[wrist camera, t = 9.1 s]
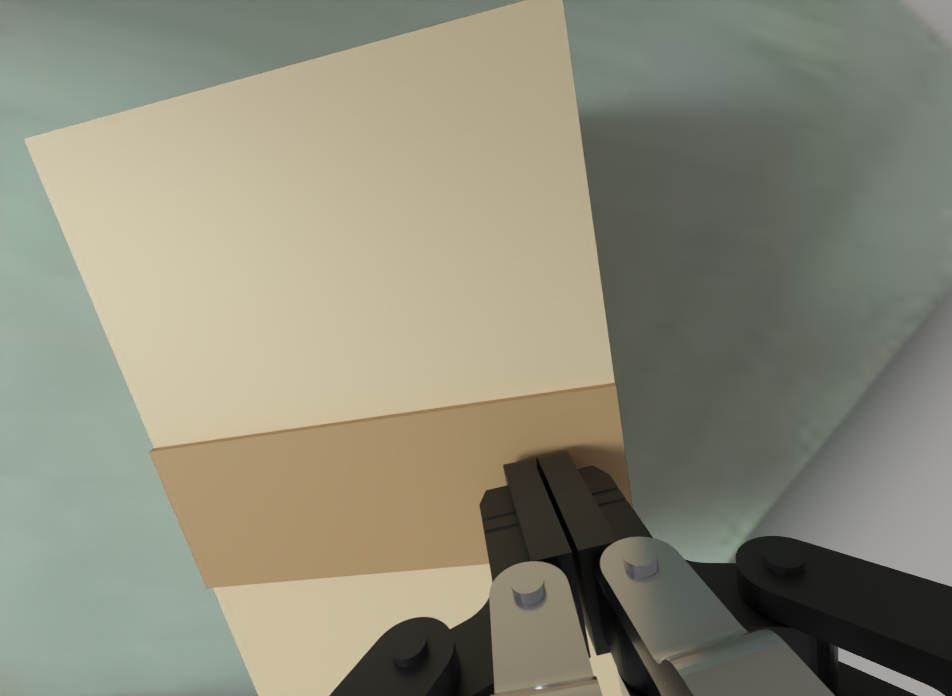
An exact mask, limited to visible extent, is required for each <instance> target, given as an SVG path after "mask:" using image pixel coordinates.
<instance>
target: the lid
mask: <svg viewBox="0 0 952 696" xmlns="http://www.w3.org/2000/svg"><path fill="white" fill-rule="evenodd" d="M24 141H25V143H26V145H27V148H28V150H29V153H30V155H31V157H32V160H33V162H34V164H35V167H36V169H37V172H38V174H39V176H40V179H41V181H42V183H43V186H44V188H45V191H46V193H47V195H48V198H49V200H50V202H51V205H52V207H53V210H54V212H55V214H56V217H57V219H58V221H59V224H60V226H61V229H62V231H63V233H64V236H65V238H66V240H67V243H68V245H69V248H70V250H71V252H72V255H73V257H74V259H75V262H76V264H77V267H78V269H79V271H80V274H81V276H82V278H83V281H84V283H85V285H86V288H87V290H88V293H89V295H90V297H91V300H92V302H93V304H94V307H95V309H96V312H97V314H98V316H99V319H100V321H101V323H102V326H103V328H104V331H105V333H106V335H107V338H108V340H109V342H110V345H111V347H112V350H113V352H114V354H115V357H116V359H117V361H118V364H119V366H120V369H121V371H122V373H123V376H124V378H125V380H126V383H127V385H128V388H129V390H130V392H131V395H132V397H133V399H134V402H135V404H136V407H137V409H138V411H139V414H140V416H141V418H142V421H143V423H144V426H145V428H146V430H147V433H148V435H149V437H150V440H151V442H152V445H153V447H154V449H152V450H151V451H149V454H150V456H151V459H152V461H153V463H154V466H155V468H156V470H157V473H158V475H159V478H160V480H161V482H162V485H163V487H164V489H165V492H166V494H167V496H168V499H169V501H170V503H171V506H172V508H173V510H174V513H175V515H176V517H177V520H178V522H179V525H180V527H181V529H182V532H183V534H184V536H185V539H186V541H187V543H188V546H189V548H190V550H191V553H192V555H193V557H194V560H195V562H196V564H197V567H198V569H199V572H200V574H201V576H202V579H203V581H204V583H205V586H206V588H213V589H214V592H215V594H216V596H217V599H218V601H219V604H220V606H221V608H222V611H223V613H224V615H225V618H226V620H227V623H228V625H229V627H230V630H231V632H232V634H233V637H234V639H235V642H236V644H237V646H238V649H239V651H240V653H241V656H242V658H243V660H244V663H245V665H246V668H247V670H248V672H249V675H250V677H251V679H252V682H253V684H254V687H255V689H256V691H257V694H258V696H329V695H330V694H331V693H332V692H333V691H334V689H335V688H336V687H337V686H338V685H339V684H340V683H341V681H342V680H343V679H344V678H345V677H346V676H347V675H348V673H349V672H350V671H351V670H352V669H353V668H354V667H355V665H356V664H357V663H358V662H359V661H360V660H361V659H362V657H363V656H364V655H365V654H366V653H367V652H368V651H369V649H370V648H371V647H372V646H373V645H374V644H375V642H376V641H377V640H378V639H379V638H380V637H381V636H382V635H383V634H384V633H385V632H386V631H388V630H389V629H390V628H392V627H393V626H395V625H396V624H398V623H400V622H403V621H405V620H408V619H411V618H416V617H431V618H435V619H438V620H440V621H442V622H443V623H445V624H446V625H447V626H448V627H449V629H451V628H453V627H455V626H457V625H459V624H460V623H462V622H464V621H466V620H468V619H469V618H471V617H472V616H473V615H475V614H476V613H477V612H478V611H479V610H480V609H481V608H482V607H483V606H484V605H485V603H486V602H487V600H488V598H489V591H490V588H491V585H492V576H491V571H490V565H489V559H488V553H487V547H486V541H485V535H484V529H483V524H482V518H481V512H480V506H479V504H480V502H481V500H482V498H483V496H484V493H485V491H486V490H489V489H494V488H498V487H502V486H507V484H506V479H505V474H504V469H503V464H508V463H512V462H517V461H521V460H525V459H530V458H533V460H534V463H535V465H536V467H537V463H536V457H538V456H542V455H547V454H551V453H555V452H560V451H564V450H566V451H567V452H568V454H569V456H570V457H571V459H572V461H573V463H574V464H575V466H576V468H577V469H580V468H584V467H589V466H595V467H597V468H599V469H601V470H602V471H604V472H606V473H608V474H609V475H610V476H611V477H612V479H613V480H614V482H615V483H616V485H617V486H618V489H619V490H620V491H621V492H622V493H623V495H624V496H625V498H626V501H628V502H629V504H630V505H631V507H632V500H631V492H630V485H629V478H628V470H627V463H626V456H625V448H624V441H623V434H622V426H621V419H620V411H619V404H618V397H617V389H616V385H615V381H614V373H613V366H612V358H611V351H610V344H609V336H608V329H607V322H606V314H605V307H604V300H603V292H602V285H601V278H600V270H599V263H598V256H597V248H596V241H595V234H594V226H593V219H592V212H591V204H590V197H589V190H588V182H587V175H586V168H585V160H584V153H583V146H582V138H581V131H580V123H579V116H578V109H577V101H576V94H575V87H574V79H573V72H572V65H571V57H570V50H569V43H568V35H567V28H566V21H565V13H564V6H563V0H525V1H521V2H518V3H514V4H510V5H507V6H503V7H499V8H496V9H492V10H489V11H485V12H481V13H478V14H474V15H470V16H467V17H463V18H460V19H456V20H452V21H449V22H445V23H442V24H438V25H434V26H431V27H427V28H423V29H420V30H416V31H413V32H409V33H405V34H402V35H398V36H395V37H391V38H387V39H384V40H380V41H376V42H373V43H369V44H366V45H362V46H358V47H355V48H351V49H347V50H344V51H340V52H337V53H333V54H329V55H326V56H322V57H319V58H315V59H311V60H308V61H304V62H300V63H297V64H293V65H290V66H286V67H282V68H279V69H275V70H271V71H268V72H264V73H261V74H257V75H253V76H250V77H246V78H243V79H239V80H235V81H232V82H228V83H224V84H221V85H217V86H214V87H210V88H206V89H203V90H199V91H196V92H192V93H188V94H185V95H181V96H177V97H174V98H170V99H167V100H163V101H159V102H156V103H152V104H148V105H145V106H141V107H138V108H134V109H130V110H127V111H123V112H120V113H116V114H112V115H109V116H105V117H101V118H98V119H94V120H91V121H87V122H83V123H80V124H76V125H72V126H69V127H65V128H62V129H58V130H54V131H51V132H47V133H44V134H40V135H36V136H33V137H29V138H25V139H24ZM537 470H538V469H537ZM632 508H633V507H632ZM585 628H586V626H585ZM586 633H587V639H588V644H589V650H590V655H591V658H589V660H590V664H591V667H592V671H593V674H594V676H596V677H597V679H598V682H599V685H600V689H601V692H602V696H623V695H622V693H621V689H620V684H619V678H618V672H617V667H616V664H615V662H614V659H613V657H612V654H611V653H607V654H602V655H598V656H597V655H596V653H595V650H594V647H593V645H592V642H591V639H590V637H589V634H588V631H587V629H586Z"/></svg>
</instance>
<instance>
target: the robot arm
mask: <svg viewBox="0 0 952 696" xmlns="http://www.w3.org/2000/svg"><path fill="white" fill-rule="evenodd" d="M536 463H537V467H536V465H535V463H534V460H533V458H530V459H525V460H521V461H517V462H512V463H508V464H503V469H504V474H505V479H506V484H507V486H502V487H498V488H494V489H489V490H486V491H485V493H484V496H483V498H482V500H481V502H480V504H479V506H480V512H481V518H482V524H483V529H484V535H485V541H486V547H487V553H488V559H489V565H490V571H491V576H492V585H491V588H490V591H489V598H488V600H487V602H486V603H485V605H484V606H483V607H482V608H481V609H480V610H479V611H478V612H477V613H476V614H475V615H473V616H472V617H471V618H469V619H468V620H466V621H464V622H462V623H460V624H459V625H457V626H455V627H453V628H451V629H449V627H448V626H447V625H446V624H445V623H443V622H442V621H440V620H438V619H435V618H431V617H416V618H411V619H408V620H405V621H403V622H400V623H398V624H396V625H395V626H393V627H392V628H390V629H389V630H388V631H386V632H385V633H384V634H383V635H382V636H381V637H380V638H379V639H378V640H377V641H376V642H375V644H374V645H373V646H372V647H371V648H370V649H369V651H368V652H367V653H366V654H365V655H364V656H363V657H362V659H361V660H360V661H359V662H358V663H357V664H356V665H355V667H354V668H353V669H352V670H351V671H350V672H349V673H348V675H347V676H346V677H345V678H344V679H343V680H342V681H341V683H340V684H339V685H338V686H337V687H336V688H335V689H334V691H333V692H332V693H331V694H330V695H329V696H602V692H601V689H600V685H599V682H598V679H597V677H596V676H594V674H593V671H592V667H591V664H590V660H589V658H591V655H590V650H589V644H588V639H587V633H586V629H587V631H588V634H589V637H590V639H591V642H592V645H593V647H594V650H595V653H596V655H597V656H598V655H602V654H607V653H611V654H612V657H613V659H614V662H615V664H616V667H617V672H618V678H619V684H620V689H621V693H622V695H623V696H917V695H915V694H913V693H910V692H908V691H906V690H904V689H901V688H899V687H897V686H894V685H892V684H890V683H888V682H885V681H883V680H881V679H878V678H876V677H874V676H871V675H869V674H867V673H865V672H862V671H860V670H858V669H856V668H853V667H851V666H849V665H846V664H844V663H842V662H839V661H838V647H839V648H842V649H844V650H847V651H849V652H851V653H853V654H856V655H858V656H861V657H863V658H865V659H868V660H870V661H872V662H875V663H877V664H880V665H882V666H884V667H887V668H889V669H891V670H894V671H896V672H899V673H901V674H903V675H906V676H908V677H911V678H913V679H915V680H918V681H920V682H922V683H925V684H927V685H929V686H931V687H933V688H935V689H937V690H938V691H940V692H941V693H943V694H944V695H945V696H952V587H950V586H947V585H944V584H940V583H937V582H934V581H931V580H928V579H924V578H921V577H918V576H915V575H911V574H908V573H905V572H901V571H898V570H895V569H892V568H888V567H885V566H882V565H878V564H875V563H872V562H869V561H865V560H862V559H859V558H856V557H852V556H849V555H846V554H842V553H839V552H836V551H833V550H829V549H826V548H823V547H820V546H816V545H813V544H810V543H807V542H803V541H800V540H796V539H793V538H788V537H781V536H764V537H758V538H754V539H751V540H749V541H747V542H745V543H744V544H743V545H741V547H740V548H739V549H738V551H737V553H736V563H699V562H692V561H688V560H685V559H684V558H683V557H682V556H681V555H680V554H679V552H678V551H677V550H676V549H675V548H673V547H672V546H671V545H669V544H667V543H665V542H663V541H661V540H658V539H654V538H653V537H652V536H651V534H650V533H649V531H648V530H647V528H646V527H645V526H644V524H643V523H642V521H641V520H640V518H639V517H638V515H637V514H636V512H635V511H634V510H633V508H632V507H631V505H630V504H629V502H628V501H626V498H625V496H624V495H623V493H622V492H621V491H620V490H619V489H618V486H617V485H616V483H615V482H614V480H613V479H612V477H611V476H610V475H609V474H608V473H606V472H604V471H602V470H601V469H599V468H597V467H595V466H589V467H584V468H580V469H577V468H576V466H575V464H574V463H573V461H572V459H571V457H570V456H569V454H568V452H567V451H566V450H564V451H560V452H555V453H551V454H547V455H542V456H538V457H536ZM537 469H538V470H537ZM585 626H586V628H585Z"/></svg>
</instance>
